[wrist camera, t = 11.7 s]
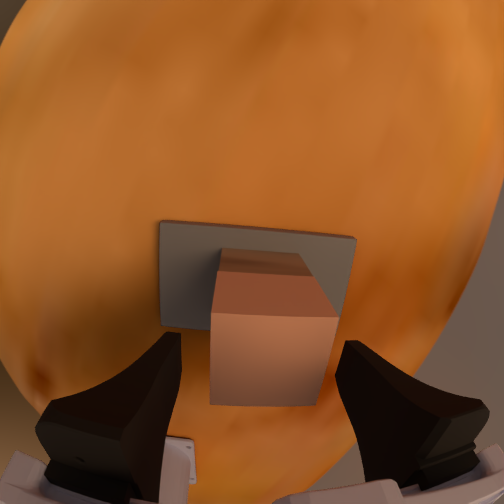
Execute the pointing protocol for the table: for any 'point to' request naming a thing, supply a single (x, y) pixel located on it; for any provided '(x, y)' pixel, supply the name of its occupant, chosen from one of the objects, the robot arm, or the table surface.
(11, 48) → the table surface
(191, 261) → the baseplate
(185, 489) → the robot arm
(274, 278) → the terracotta brick
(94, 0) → the table surface
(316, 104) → the table surface
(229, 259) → the walnut brick
